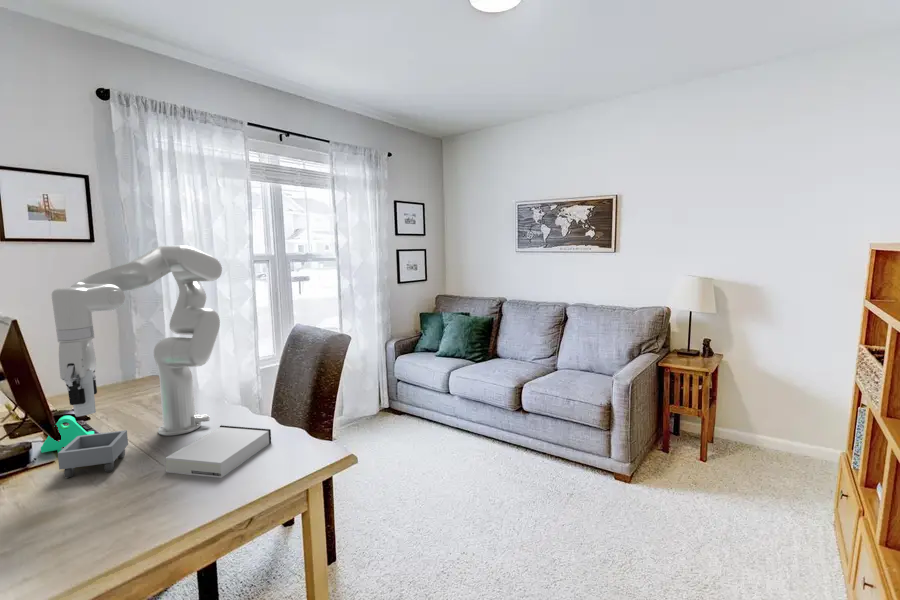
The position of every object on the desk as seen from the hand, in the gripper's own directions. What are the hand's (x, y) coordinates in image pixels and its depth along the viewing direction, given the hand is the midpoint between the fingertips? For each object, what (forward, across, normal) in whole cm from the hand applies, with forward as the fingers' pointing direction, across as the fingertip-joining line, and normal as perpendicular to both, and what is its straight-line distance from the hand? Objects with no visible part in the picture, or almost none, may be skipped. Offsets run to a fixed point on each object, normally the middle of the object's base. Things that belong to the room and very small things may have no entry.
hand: (84, 398), depth 121 cm
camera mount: (+22, -23, -14) cm, 35 cm away
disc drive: (+22, +2, +32) cm, 39 cm away
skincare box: (+4, 0, 0) cm, 4 cm away
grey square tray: (+21, -4, 0) cm, 22 cm away
